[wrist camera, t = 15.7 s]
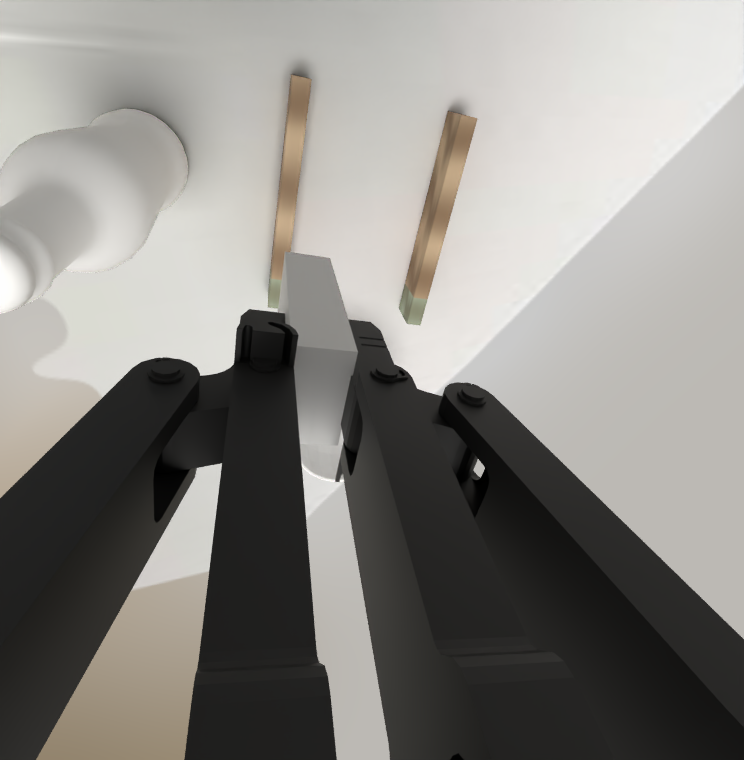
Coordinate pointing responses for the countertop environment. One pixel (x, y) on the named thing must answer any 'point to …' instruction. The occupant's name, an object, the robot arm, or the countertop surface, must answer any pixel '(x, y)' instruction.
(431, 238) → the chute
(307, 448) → the cup
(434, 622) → the robot arm
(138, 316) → the countertop surface
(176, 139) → the bottle
